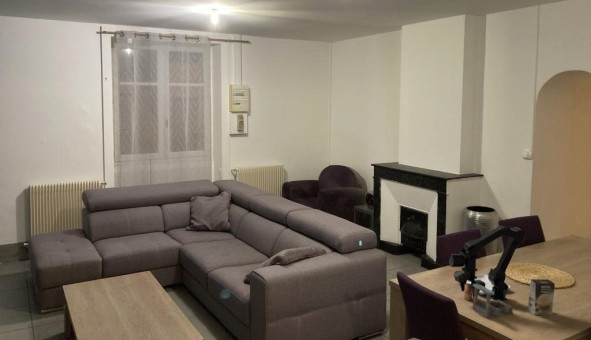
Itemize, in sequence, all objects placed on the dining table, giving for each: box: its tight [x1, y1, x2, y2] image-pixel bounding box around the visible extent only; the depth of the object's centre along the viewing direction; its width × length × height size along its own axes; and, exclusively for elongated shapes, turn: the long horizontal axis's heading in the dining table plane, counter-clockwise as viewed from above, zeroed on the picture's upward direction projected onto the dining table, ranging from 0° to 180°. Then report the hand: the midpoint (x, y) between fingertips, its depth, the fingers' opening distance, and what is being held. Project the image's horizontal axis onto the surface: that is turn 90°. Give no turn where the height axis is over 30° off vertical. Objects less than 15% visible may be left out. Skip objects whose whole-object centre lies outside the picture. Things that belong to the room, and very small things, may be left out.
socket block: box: [472, 283, 514, 319], centre depth 244 cm, size 16×12×13 cm
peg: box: [463, 283, 473, 302], centre depth 259 cm, size 4×4×8 cm
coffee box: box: [527, 278, 556, 316], centre depth 243 cm, size 9×6×16 cm
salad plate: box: [466, 273, 512, 295], centre depth 275 cm, size 21×21×3 cm
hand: (468, 294), depth 259 cm, fingers open, 9 cm apart
